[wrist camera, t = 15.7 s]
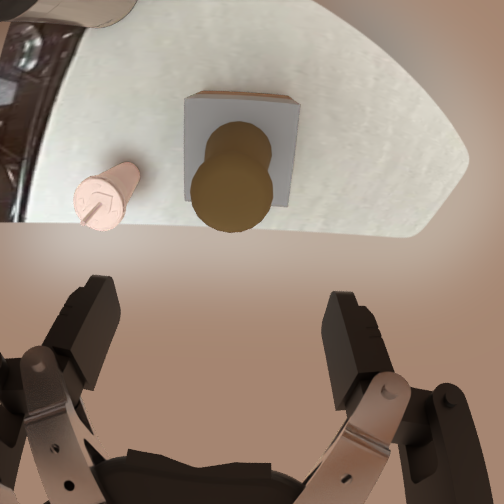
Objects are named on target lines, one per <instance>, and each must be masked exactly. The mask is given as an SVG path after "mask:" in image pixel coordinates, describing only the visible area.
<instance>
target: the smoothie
mask: <svg viewBox="0 0 504 504" xmlns="http://www.w3.org/2000/svg"><path fill="white" fill-rule="evenodd" d="M139 180H140V172H139V169H138V168H137V167H136V166H135V165H134V164H133V163H130V162H123V163H121V164H119V165H117V166H115V167H113V168H111V169H109V170H107V171H105V172H103V173H101V174H99V175H95V176H90V177H88V178H86V179H85V180H84V181H82V182H81V184H80V185H79V186H78V187H77V189H76V190H75V193H74V199H73V201H74V208H75V211H76V213H77V215H78V217H79V218H80V220H81V222H80V224H81V225H82V226H85V225H87V226H88V227H90V228H92V229H94V230H98V231H107V230H111V229H113V228H114V227H116V226H117V225H118V224H119V223H120V222H121V220H122V219H123V217H124V215H125V212H126V206H127V203H128V201H129V200H130V198H131V196H132V194H133V192H134V190H135V188H136V186H137V184H138V182H139Z"/></svg>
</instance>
